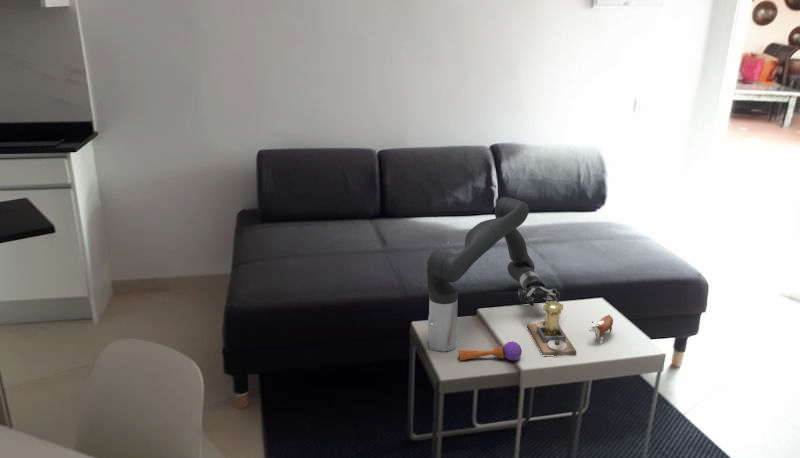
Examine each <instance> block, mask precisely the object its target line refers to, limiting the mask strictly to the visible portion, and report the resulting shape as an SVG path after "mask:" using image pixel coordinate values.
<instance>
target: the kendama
mask: <svg viewBox="0 0 800 458" xmlns="http://www.w3.org/2000/svg"><path fill="white" fill-rule="evenodd" d="M522 351H523V350H522V347H521V345H520V344H519V343H518V342H516V341H508V342H506V343H505V344H504V345H499V346H498V347H496V348H494V349H492V350H462V349H461V350H460V349H459V350H458V357H459V361H466V360H472V359H476V358H480V357H481V358H482V357H485V356H486V357H487V356H491V355H492V356H495V357H498V358H500V359H504V358H506V359H507V361H517V360H518V359H519V358H520V357H522ZM516 359H517V360H516Z"/></svg>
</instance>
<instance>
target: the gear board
mask: <svg viewBox="0 0 800 458" xmlns="http://www.w3.org/2000/svg"><path fill="white" fill-rule="evenodd" d="M559 324H560V323H559ZM559 324H558V334H557V336H545V335H544V329H545V320H540V321H537V322H536V323H526V329H527V328H528V329H527V330H529V331H530V333H531V334H530V333H529V334H530V336H531V335H532V336H531V338H532V337H533V338H532V339H534V340H535V342H536V343H535V342H534V343H535V345H536V344H537V345H536V347H537V346H538V347H537V348H539V349H540V350H539V349H538V350H539V352H540V351H541V352H540V354H541V353H542V354H541V356H542V355H554V356H553V357H558V356H557V355H569V356H577V350H576V348H575V347H574V345H573V344H572V342H571V341H570V339H569V338H568V336H567V334H566V333H565V332H564V330H563V329H562V327H561V326H560V325H559ZM529 331H528V332H529ZM534 340H533V341H534Z"/></svg>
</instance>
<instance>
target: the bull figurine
mask: <svg viewBox="0 0 800 458" xmlns="http://www.w3.org/2000/svg"><path fill="white" fill-rule="evenodd" d="M613 325H614V318H613V317H612V316H611V314H608V315H605V316H603V317H602V318H601V319H600V320H598V321H591V324H590V327H588V331H589V332H593V333H595V338H594V341H598V340H599V343H598V344H599V345H602V344H603V340H604V336H605V333H606V332H608V331H609V333H608V336H609V337H610V336H612V330H613ZM599 337H600V339H599Z"/></svg>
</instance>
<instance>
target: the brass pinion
mask: <svg viewBox="0 0 800 458" xmlns="http://www.w3.org/2000/svg"><path fill="white" fill-rule="evenodd" d="M542 310H543V312H545V320H544V321H545V329H544V335H545V336H557V334H558V324H560V323H559V321H560V315H561V314H562V311H564V304H563V303H560V302H559V301H558V302H557V301H551V300H545V302H544V304H543V309H542Z"/></svg>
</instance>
